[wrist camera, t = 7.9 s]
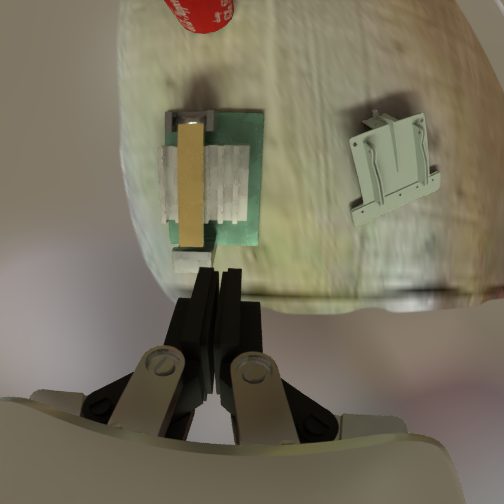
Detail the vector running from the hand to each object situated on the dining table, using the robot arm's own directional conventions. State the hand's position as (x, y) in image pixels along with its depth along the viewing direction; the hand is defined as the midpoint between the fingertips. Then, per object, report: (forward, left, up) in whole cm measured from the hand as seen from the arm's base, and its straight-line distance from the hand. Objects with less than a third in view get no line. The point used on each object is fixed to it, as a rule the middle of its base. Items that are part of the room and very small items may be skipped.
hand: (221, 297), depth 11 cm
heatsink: (0, -3, -22) cm, 22 cm away
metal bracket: (-4, +19, -23) cm, 30 cm away
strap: (-1, -4, -17) cm, 17 cm away
